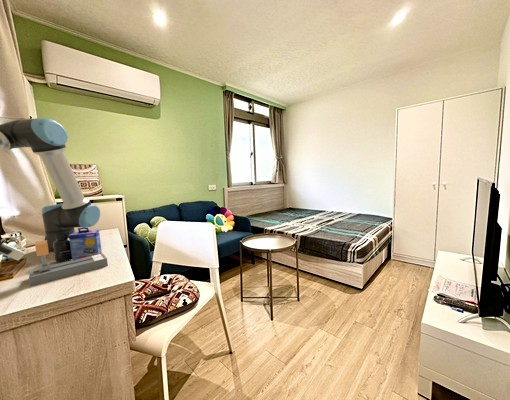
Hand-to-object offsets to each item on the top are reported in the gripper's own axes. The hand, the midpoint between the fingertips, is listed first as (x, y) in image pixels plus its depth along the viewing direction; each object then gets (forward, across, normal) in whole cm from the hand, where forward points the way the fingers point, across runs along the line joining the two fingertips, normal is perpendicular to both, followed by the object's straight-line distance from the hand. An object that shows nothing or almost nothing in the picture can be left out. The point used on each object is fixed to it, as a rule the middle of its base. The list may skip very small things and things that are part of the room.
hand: (22, 256), depth 74 cm
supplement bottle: (+15, -19, +1) cm, 24 cm away
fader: (+8, 0, -1) cm, 8 cm away
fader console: (+15, 0, +2) cm, 15 cm away
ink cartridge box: (+20, -13, +6) cm, 24 cm away
